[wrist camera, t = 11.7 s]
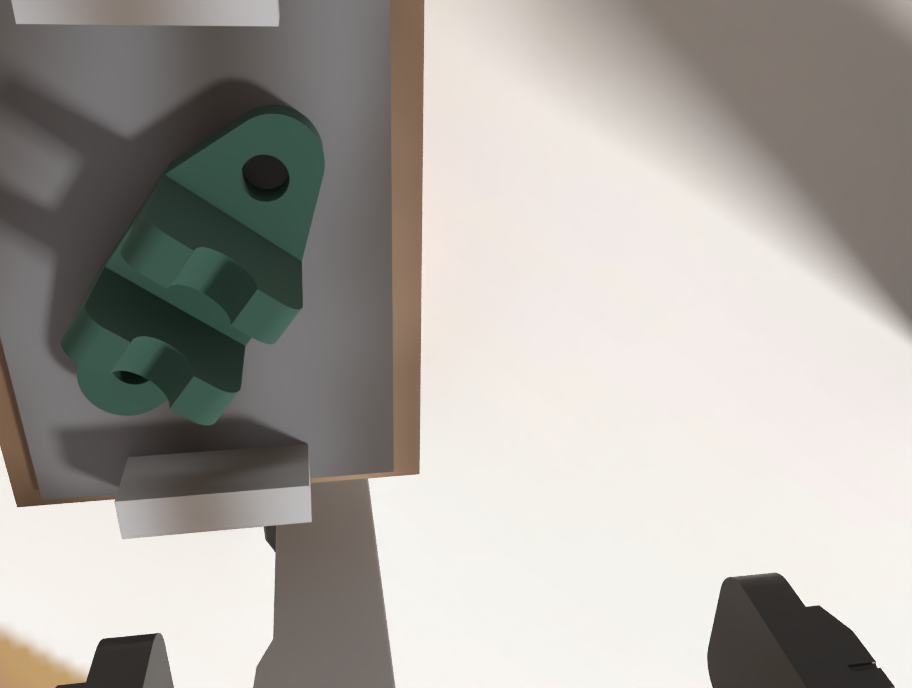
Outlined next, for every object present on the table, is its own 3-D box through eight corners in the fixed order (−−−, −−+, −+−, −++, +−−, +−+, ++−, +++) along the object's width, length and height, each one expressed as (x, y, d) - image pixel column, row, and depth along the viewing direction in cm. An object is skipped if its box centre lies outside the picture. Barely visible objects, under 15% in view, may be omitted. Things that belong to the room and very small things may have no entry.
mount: (234, 65, 23) (220, 101, 18) (365, 159, 24) (381, 213, 20) (42, 356, 26) (-9, 448, 21) (172, 421, 27) (150, 517, 23)
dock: (394, -70, 29) (441, -60, 20) (396, 373, 37) (430, 522, 28) (-36, -82, 27) (-206, -78, 18) (69, 394, 35) (-9, 563, 26)
